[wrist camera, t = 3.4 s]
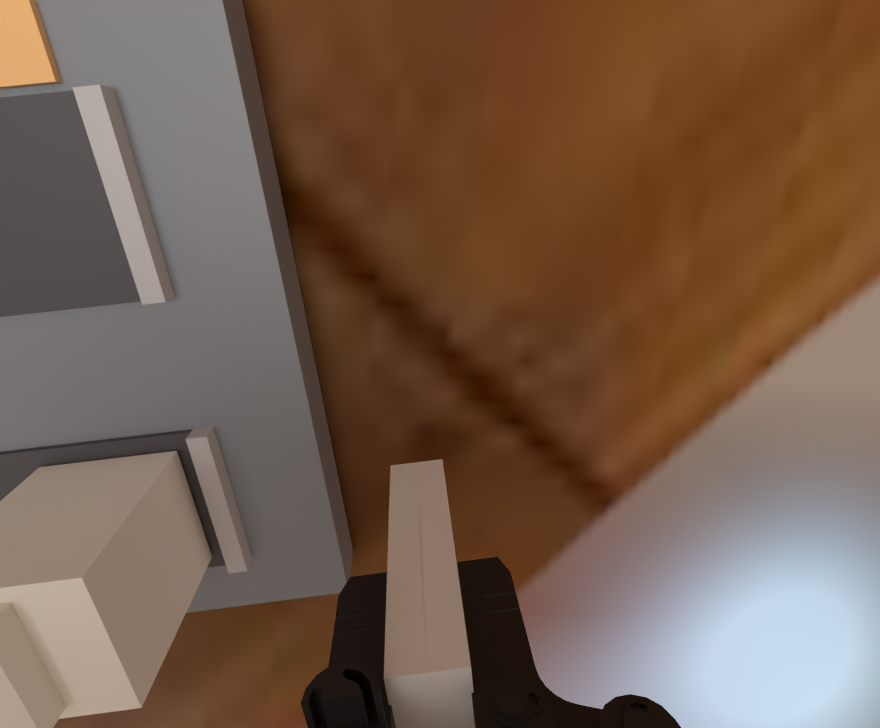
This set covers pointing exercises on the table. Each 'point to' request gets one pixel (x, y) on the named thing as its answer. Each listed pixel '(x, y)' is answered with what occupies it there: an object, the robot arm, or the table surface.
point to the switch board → (161, 282)
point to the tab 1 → (93, 584)
